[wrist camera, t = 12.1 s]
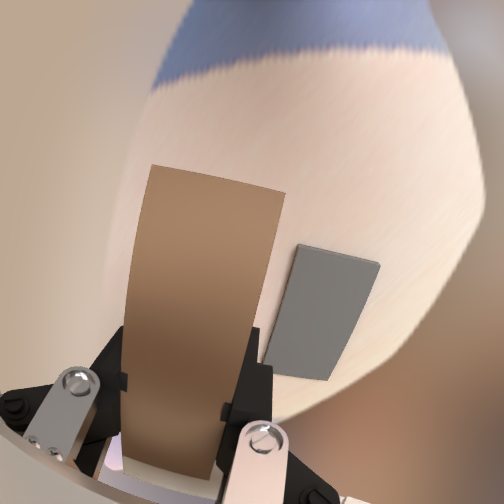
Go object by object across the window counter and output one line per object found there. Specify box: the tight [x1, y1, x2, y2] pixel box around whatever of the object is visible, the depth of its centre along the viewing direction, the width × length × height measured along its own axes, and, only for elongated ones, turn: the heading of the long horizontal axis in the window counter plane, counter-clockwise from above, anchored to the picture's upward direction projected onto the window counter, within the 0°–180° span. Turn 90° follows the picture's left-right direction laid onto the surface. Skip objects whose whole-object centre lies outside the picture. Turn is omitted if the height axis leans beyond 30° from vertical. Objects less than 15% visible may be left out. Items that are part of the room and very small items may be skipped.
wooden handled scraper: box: [120, 165, 286, 500], centre depth 9 cm, size 16×6×4 cm, turn 168°
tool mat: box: [262, 244, 380, 381], centre depth 35 cm, size 19×10×1 cm, turn 168°
